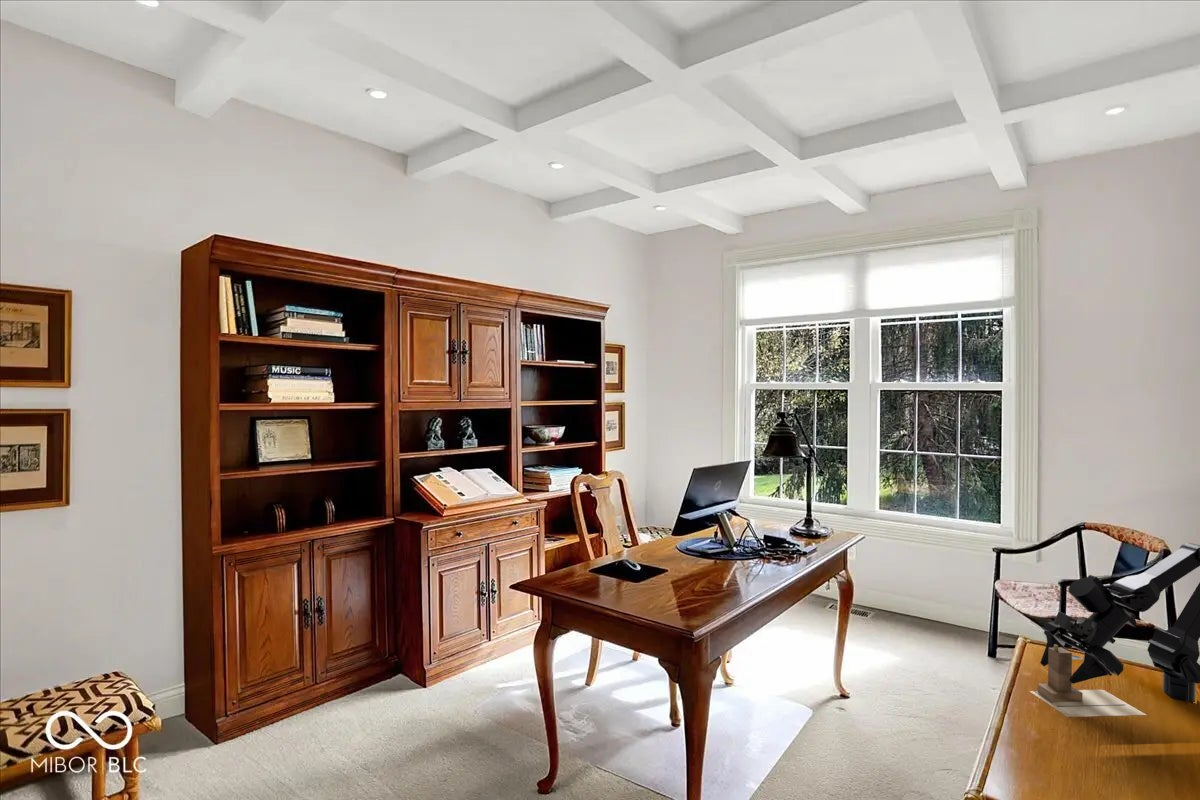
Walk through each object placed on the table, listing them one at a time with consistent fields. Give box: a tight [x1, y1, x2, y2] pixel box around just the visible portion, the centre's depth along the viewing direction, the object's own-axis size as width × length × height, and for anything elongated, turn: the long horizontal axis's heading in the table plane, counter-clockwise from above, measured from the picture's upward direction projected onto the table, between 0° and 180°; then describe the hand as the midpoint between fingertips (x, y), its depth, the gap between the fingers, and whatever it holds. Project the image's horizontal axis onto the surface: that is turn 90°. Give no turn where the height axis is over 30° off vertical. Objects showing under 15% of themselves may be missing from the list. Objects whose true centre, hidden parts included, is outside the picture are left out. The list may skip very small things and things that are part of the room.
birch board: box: [1029, 689, 1147, 718], centre depth 149 cm, size 18×12×2 cm, turn 92°
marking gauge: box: [1036, 645, 1082, 702], centre depth 152 cm, size 7×5×12 cm
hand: (1056, 673), depth 152 cm, fingers open, 9 cm apart
